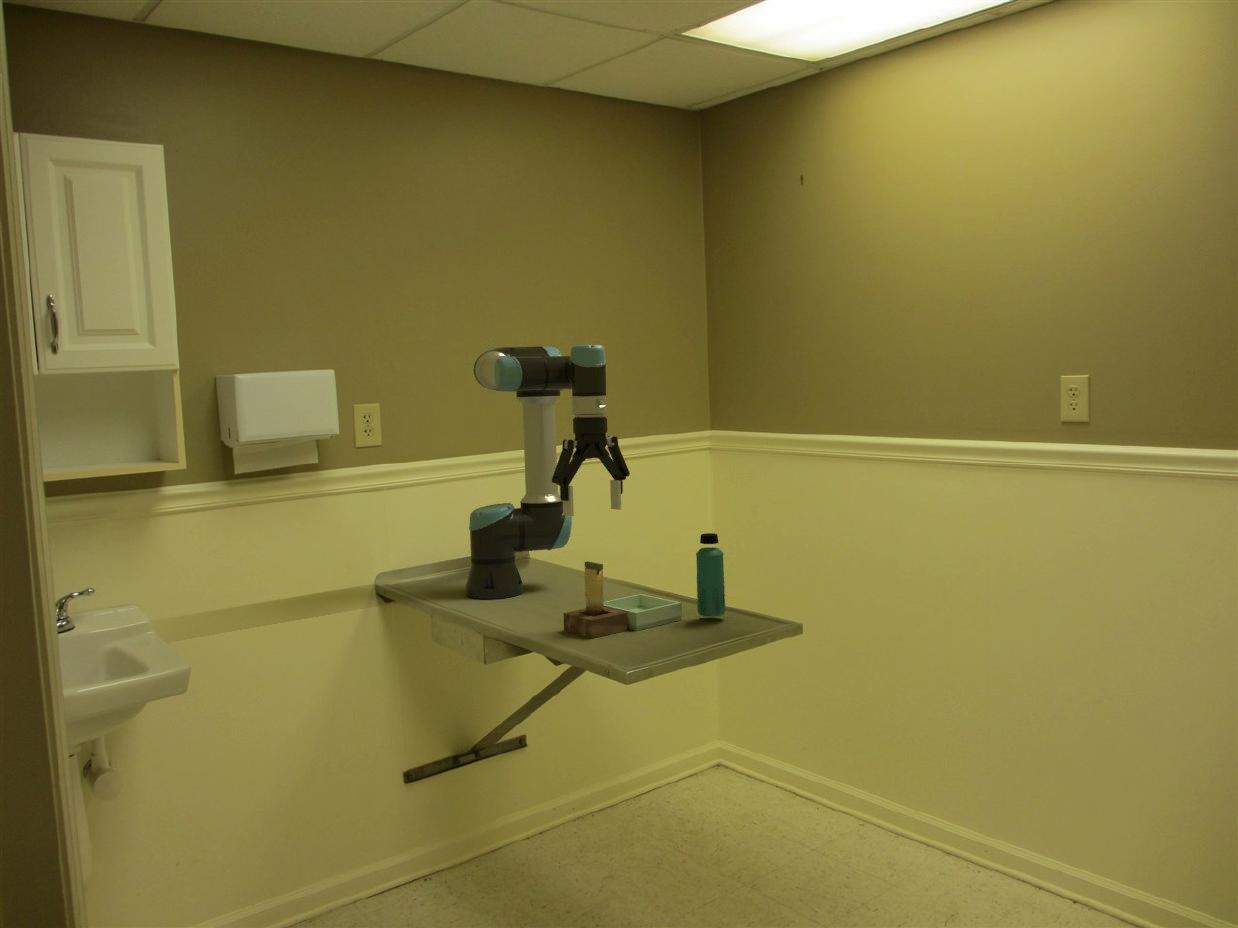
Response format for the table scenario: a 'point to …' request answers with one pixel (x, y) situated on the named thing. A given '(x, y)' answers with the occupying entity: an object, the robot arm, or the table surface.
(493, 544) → the robot arm
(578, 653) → the table surface
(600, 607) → the amber rounded cylinder
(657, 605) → the tray
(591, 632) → the block
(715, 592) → the beverage bottle
